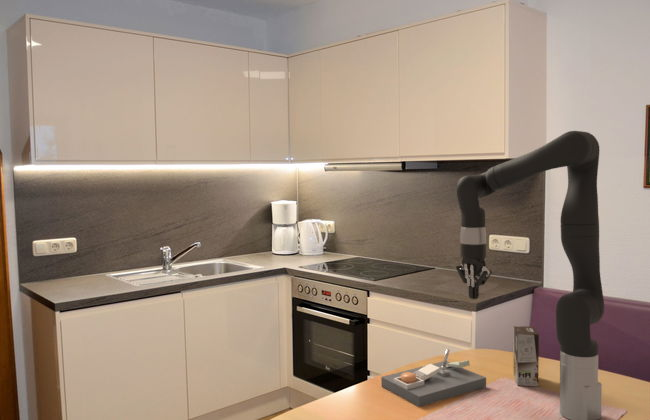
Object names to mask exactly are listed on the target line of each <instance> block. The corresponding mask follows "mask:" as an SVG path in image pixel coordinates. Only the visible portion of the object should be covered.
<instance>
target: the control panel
mask: <svg viewBox="0 0 650 420" xmlns="http://www.w3.org/2000/svg"><path fill="white" fill-rule="evenodd" d="M448 363H451V362H450V361H447V363H446V367H445V368H446V369H445V370H444V371H443V370H441V367H442V364H443V360H442V361H438V362H435V363H431V364H432V365H435V366H437V367H439V368H440V372H438V373H437V374H435V375H433V376H431V377H430V378H428V379H426V380H422V379H420V378H418V377H416V382H413V383H410V384H406V383H404V382H402V381H401V374H402V373H406V372H410V373H414V372H415V371H417V370H419V369H421V368H423V367H425V366H427V365H428V364H426V365H424V366H419V367H414V368H411V369H408V370H403V371H399V372H396V373H391V374H387V375H384V376H381V378H380V379H381V387H382V388H384V389H386V390H387V391H389V392H391V393H393V394H395V395H396V396H398V397H400V398H402V399H404V400H405V401H407V402H409V403H411V404H413V405H415V406H416V407H418V408H421V407H424V406H427V405H431V404H433V403H437V402H441V401H445V400H448V399H451V398H454V397H458V396H461V395H464V394H468V393H471V392H475V391H477V390H482V389H485V388H487V377H486V376H483V375H480V374H479V373H476V372H474V371H472V370H469V369H467V368H465V367H462V368H459V367H451V366H448ZM484 387H485V388H484Z"/></svg>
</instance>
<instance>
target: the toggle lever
mask: <svg viewBox="0 0 650 420" xmlns="http://www.w3.org/2000/svg"><path fill="white" fill-rule="evenodd" d="M449 355H450V349H449V348H446V349H445V352H444V356H443V360H442V361H443V364H442V367H441V370H443V371H444V370H445V369H446V368H445V367H446V363H447V362H448V357H449Z"/></svg>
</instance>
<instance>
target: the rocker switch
mask: <svg viewBox="0 0 650 420" xmlns="http://www.w3.org/2000/svg"><path fill="white" fill-rule="evenodd" d="M432 364H433V363H428V364H426V365H427V366H426V365H424V366H425V367H423V368H421V369H419V370H417V371H415V372H414V374H416V377H418V378H420V379H422V380H426V379H428V378H430V377H431V376H433V375H435V374H437V373H438V372H440V368H439V367H437V366H435V365H432Z"/></svg>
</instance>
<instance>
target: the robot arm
mask: <svg viewBox="0 0 650 420" xmlns="http://www.w3.org/2000/svg"><path fill="white" fill-rule="evenodd" d="M599 162H600V145H599V141H598V140H597V137H596V136H594V135H593V134H592V133H590V132H589V131H583V130H581V131H580V130H571V131H567V132H564V133H562V134H561V135H559V136H557V137H556V138H554V139H553V140H551V141H549V142H547V143H546V144H544V145H542V146H540V147H538V148H536V149H534V150H533V151H530V152H528V153H525V154H523V155H521V156H518V157H514V158H512V159H509V160H506V161H505V162H502V163H499V164H497V165H494V166H491V167H490V168H488V169H487V171H485V172H483V173H479V174H474V175H464V176H462V177H461V178H459V180H458V182H457V185H456V191H455V192H456V197H457V202H458V207H459V209H460V210H459V211H460V218H461V219H460V223H461V224H460V226H461V227H460V235H459V237H460V241H459V242H460V245H459V246H460V257H461V263H460V264H459V265H456V266H455V268H456V271H457V273H458V275H459V277H460V279H461V280H462V282H463V284H466V285H467V287H468V297H469V299H472V300H478V299H479V297H480V294H479V293H480V292H479V291H480V286H484V285H485V284H486V282H487V280H488V279H489V278H490V276H491V275H492V273H493V272H492V270H491V269H488V267H486V265H487V264H486V261H485V260H486V259H485V258H486V257H487V231H486V211H485V209H484V208H483V207H481V206H480V201H479V199H481V198H484V197H487V196H489V195H492V194H494V193H496V192H497V191H500V190H504V189H508V188H510V187H512V186H516V185H518V184H521V183H523V182H525V181H527V180H529V179H530V178H532V177H534V176H536V175H538V174H541V173H543V172H546V171H549V170H554V169H559V168H563V167H567V189H566V194H565V198H564V201H563V205H562V209H561V213H560V241H561V245H562V249H563V251H564V253H565V255H566V257H567V259H568V261H569V264H570V266H571V271H572V276H573V278H572V279H573V280H572V281H573V283H572V284H573V287H572V292H569V293H566V294H565V293H564V295H561V296H560V297H559V299H558V301H557V302H556V303H557V304H556V308H555V323H556V325H555V326H556V337H557V341H558V343H559V413H560V415H561V416H562V417H563V418H565V419H568V420H600V419H601V418H602V387H603V385H602V382H600V381H599V344H598V342H597V341H596V340H594V339H592V337H591V326H592V325H594V324H596V323H598V322H599V321H600V320H601V319H602V318H603V315H604V314H605V301H604V294H603V293H604V292H603V287H602V285H603V284H602V278H601V263H600V262H601V261H600V257H601V255H600V216H599V196H598V172H599V171H598V170H599Z"/></svg>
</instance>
